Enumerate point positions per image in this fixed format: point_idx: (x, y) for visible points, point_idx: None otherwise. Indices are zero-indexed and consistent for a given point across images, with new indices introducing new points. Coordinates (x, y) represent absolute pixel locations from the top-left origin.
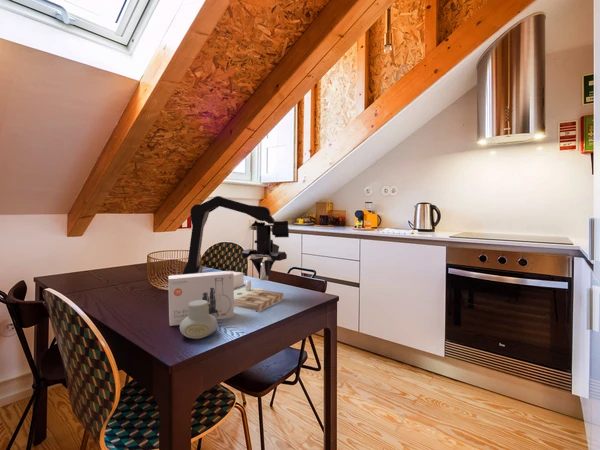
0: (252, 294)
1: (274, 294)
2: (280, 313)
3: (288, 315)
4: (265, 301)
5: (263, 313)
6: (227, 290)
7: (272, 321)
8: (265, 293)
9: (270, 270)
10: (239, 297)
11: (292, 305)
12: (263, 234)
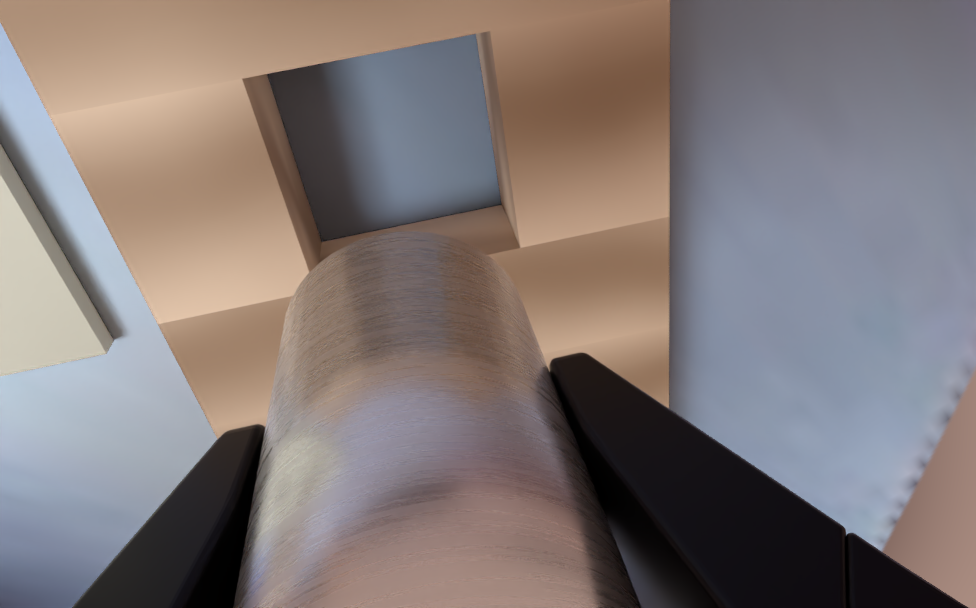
0: (237, 312)
1: (561, 58)
2: (875, 344)
3: (973, 332)
4: (668, 389)
5: (718, 439)
6: None
7: (886, 488)
8: (300, 60)
9: (736, 462)
10: (15, 348)
11: (911, 46)
12: None
